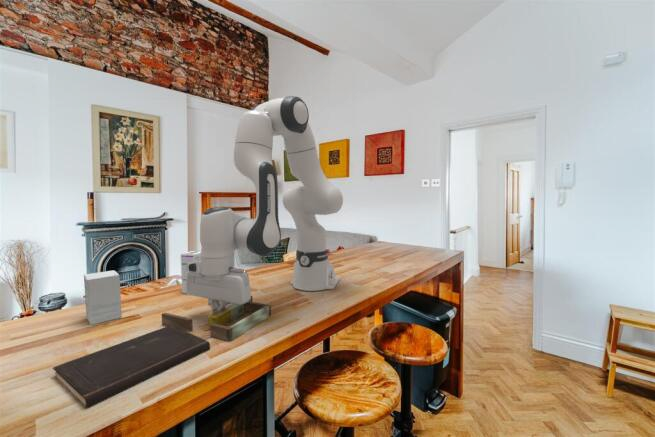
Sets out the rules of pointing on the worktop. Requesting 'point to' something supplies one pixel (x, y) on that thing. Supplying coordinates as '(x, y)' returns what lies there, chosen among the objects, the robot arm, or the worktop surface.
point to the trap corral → (221, 331)
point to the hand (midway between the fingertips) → (218, 314)
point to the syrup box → (185, 260)
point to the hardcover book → (128, 363)
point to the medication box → (227, 315)
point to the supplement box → (102, 296)
